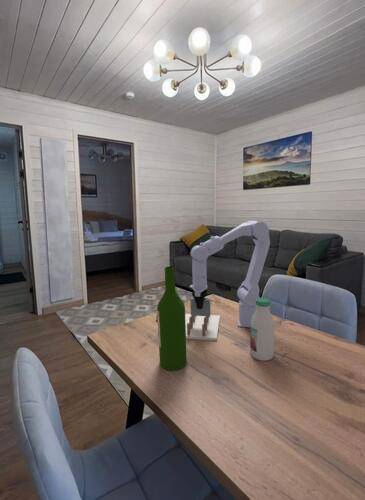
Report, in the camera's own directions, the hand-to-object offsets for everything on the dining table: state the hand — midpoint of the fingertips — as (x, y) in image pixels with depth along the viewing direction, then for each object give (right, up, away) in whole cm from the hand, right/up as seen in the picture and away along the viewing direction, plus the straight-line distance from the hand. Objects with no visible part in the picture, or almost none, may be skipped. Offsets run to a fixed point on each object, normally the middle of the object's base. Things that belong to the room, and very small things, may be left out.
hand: (200, 307), depth 112 cm
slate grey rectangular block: (0, -3, +1) cm, 3 cm away
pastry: (-15, -9, +11) cm, 20 cm away
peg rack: (0, -9, +3) cm, 10 cm away
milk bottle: (+20, -13, -19) cm, 30 cm away
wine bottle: (-10, -14, -22) cm, 28 cm away
